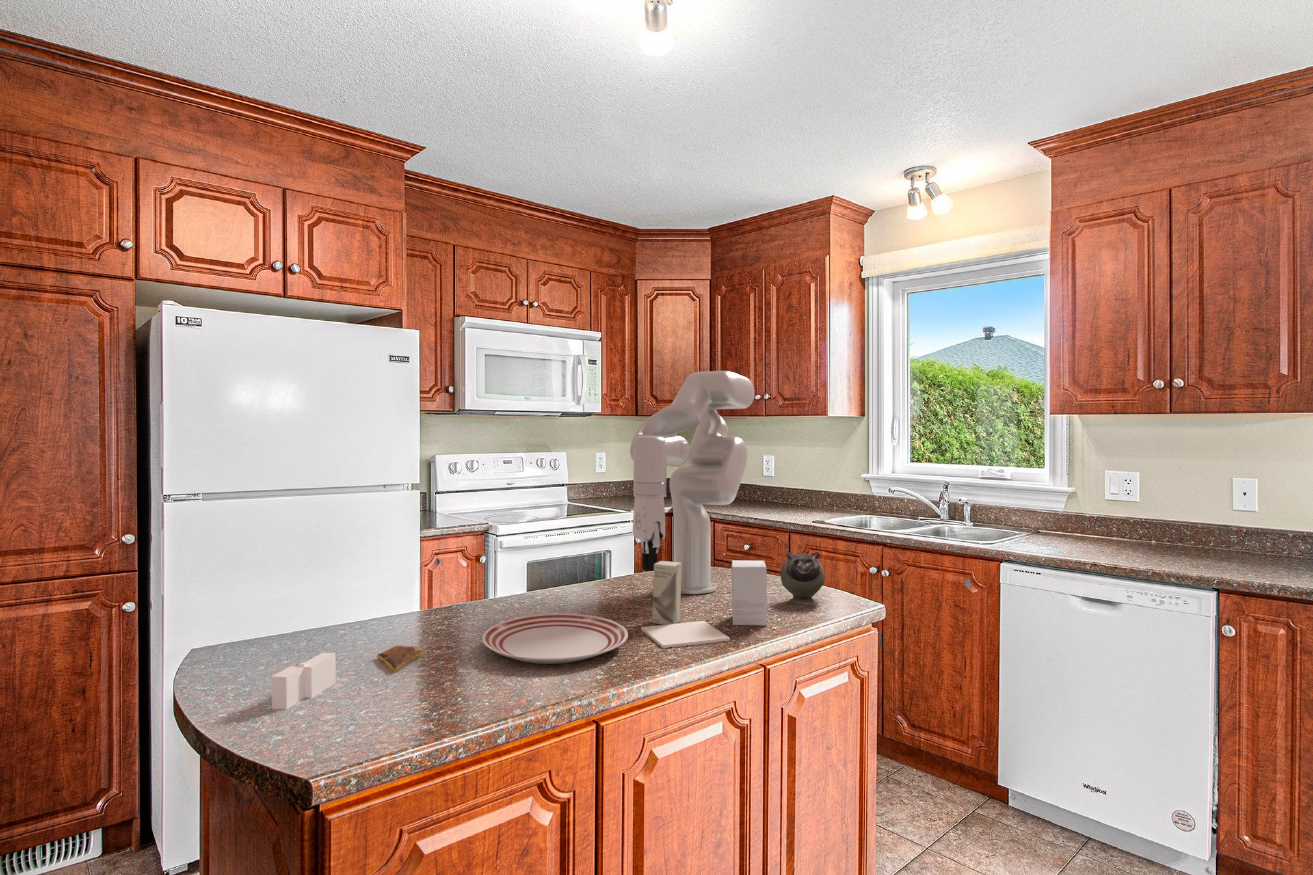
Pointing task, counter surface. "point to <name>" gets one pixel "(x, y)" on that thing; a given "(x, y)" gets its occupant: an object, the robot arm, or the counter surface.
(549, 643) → the dinner plate
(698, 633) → the beige flat slab
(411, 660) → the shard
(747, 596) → the supplement box
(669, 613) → the box
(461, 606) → the counter surface
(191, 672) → the counter surface
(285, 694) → the pink notched block
